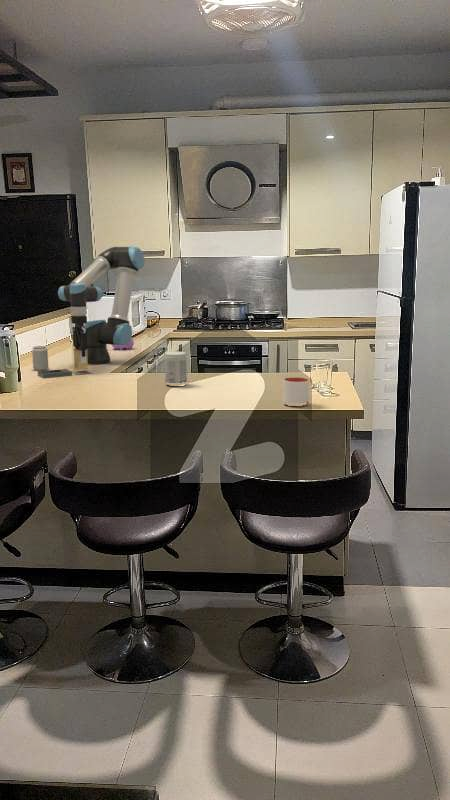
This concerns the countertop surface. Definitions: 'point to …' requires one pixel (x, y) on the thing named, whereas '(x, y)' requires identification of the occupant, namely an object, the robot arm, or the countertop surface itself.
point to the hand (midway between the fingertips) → (81, 362)
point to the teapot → (128, 345)
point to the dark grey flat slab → (54, 373)
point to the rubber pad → (81, 372)
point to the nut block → (77, 360)
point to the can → (40, 358)
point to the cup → (295, 390)
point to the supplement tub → (175, 367)
